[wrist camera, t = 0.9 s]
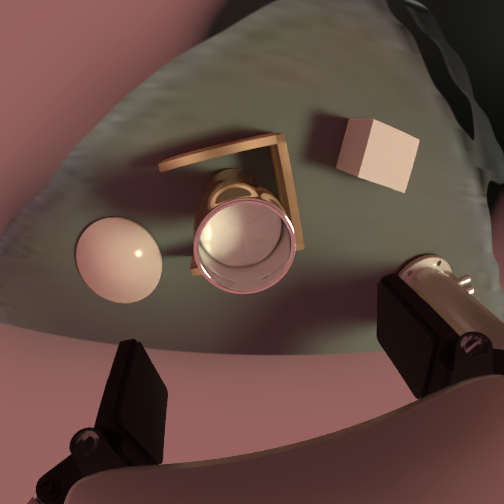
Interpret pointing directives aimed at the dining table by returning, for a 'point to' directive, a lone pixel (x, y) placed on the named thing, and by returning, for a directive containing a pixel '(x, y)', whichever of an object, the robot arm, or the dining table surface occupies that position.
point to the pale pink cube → (377, 153)
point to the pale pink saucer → (119, 260)
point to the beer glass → (242, 234)
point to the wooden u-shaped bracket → (279, 165)
